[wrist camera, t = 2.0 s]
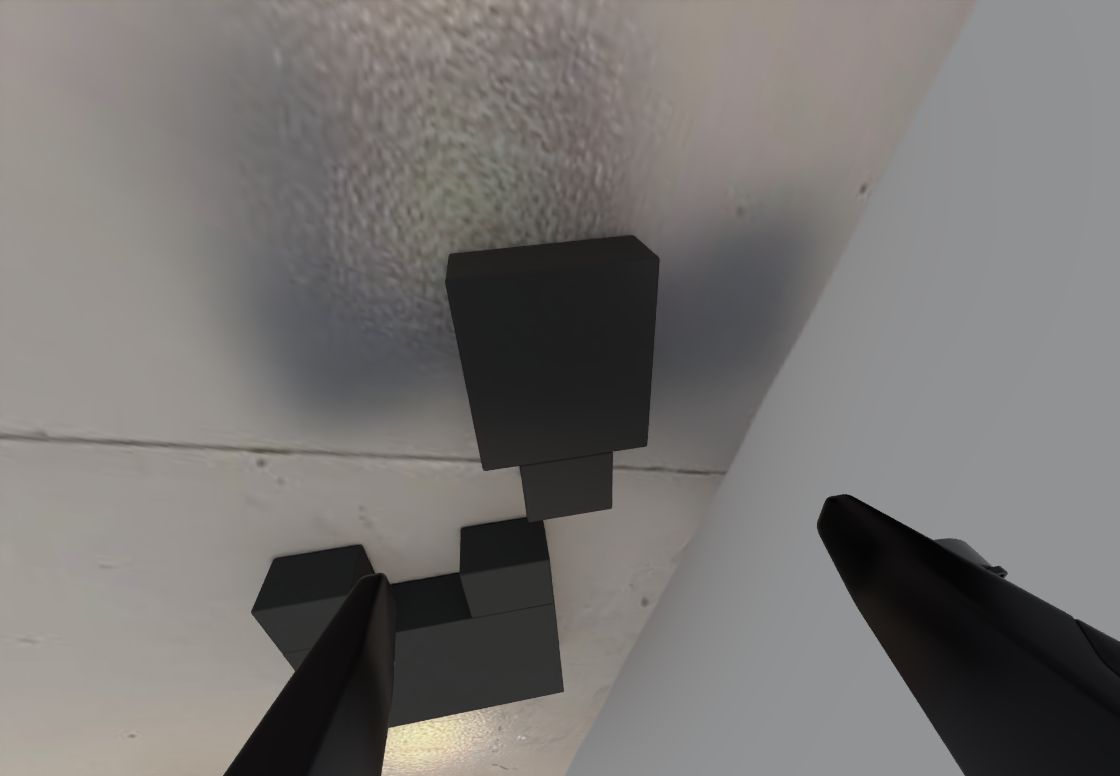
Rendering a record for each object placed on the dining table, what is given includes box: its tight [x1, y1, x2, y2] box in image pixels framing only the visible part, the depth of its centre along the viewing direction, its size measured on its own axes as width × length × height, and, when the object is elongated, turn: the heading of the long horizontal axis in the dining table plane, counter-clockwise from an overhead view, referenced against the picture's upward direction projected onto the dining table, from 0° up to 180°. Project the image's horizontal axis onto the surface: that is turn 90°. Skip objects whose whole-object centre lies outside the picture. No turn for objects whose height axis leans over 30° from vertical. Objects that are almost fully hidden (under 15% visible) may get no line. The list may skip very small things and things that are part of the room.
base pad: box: [251, 518, 564, 728], centre depth 23 cm, size 12×12×2 cm
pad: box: [445, 235, 660, 522], centre depth 16 cm, size 6×10×2 cm, turn 3°
